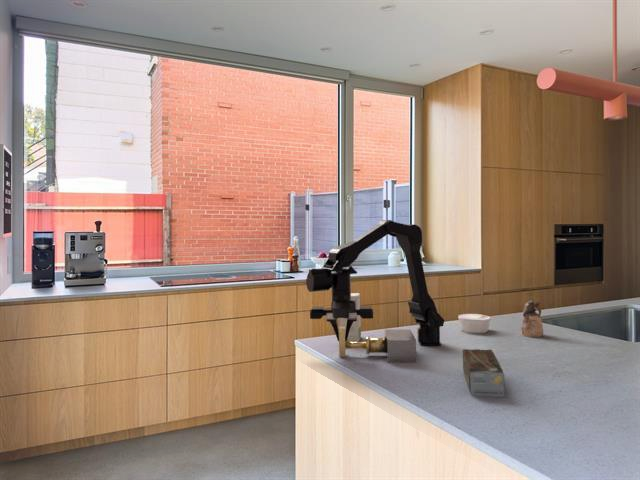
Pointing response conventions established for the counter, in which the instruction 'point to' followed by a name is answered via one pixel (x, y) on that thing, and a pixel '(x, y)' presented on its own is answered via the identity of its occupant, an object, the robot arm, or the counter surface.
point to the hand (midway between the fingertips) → (342, 340)
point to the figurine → (532, 320)
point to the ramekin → (474, 323)
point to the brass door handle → (362, 344)
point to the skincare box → (356, 326)
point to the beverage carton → (483, 373)
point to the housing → (400, 346)
